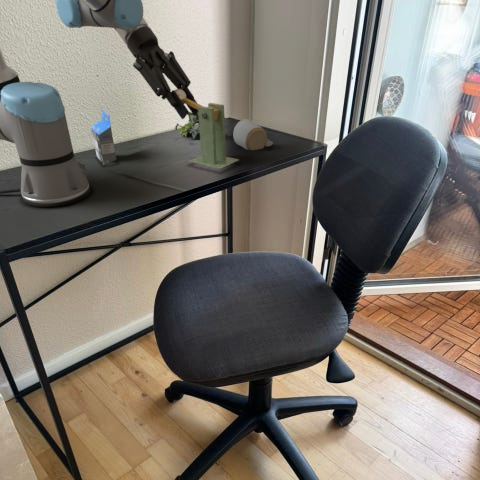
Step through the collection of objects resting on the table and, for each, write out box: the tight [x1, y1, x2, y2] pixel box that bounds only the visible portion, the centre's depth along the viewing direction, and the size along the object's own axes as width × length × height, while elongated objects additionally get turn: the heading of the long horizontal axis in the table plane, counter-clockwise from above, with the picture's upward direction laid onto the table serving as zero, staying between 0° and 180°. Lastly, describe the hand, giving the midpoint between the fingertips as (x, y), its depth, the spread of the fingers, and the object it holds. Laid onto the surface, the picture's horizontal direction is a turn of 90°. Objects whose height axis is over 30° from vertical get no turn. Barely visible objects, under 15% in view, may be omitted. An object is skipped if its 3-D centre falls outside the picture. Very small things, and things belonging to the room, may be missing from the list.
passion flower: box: [174, 111, 200, 141], centre depth 143 cm, size 11×11×12 cm
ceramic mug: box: [232, 118, 274, 151], centre depth 135 cm, size 11×8×8 cm
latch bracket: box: [188, 102, 240, 170], centre depth 122 cm, size 11×8×15 cm
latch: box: [173, 88, 219, 120], centre depth 121 cm, size 14×4×4 cm, turn 54°
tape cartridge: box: [90, 109, 117, 166], centre depth 127 cm, size 9×4×12 cm, turn 27°
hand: (191, 113), depth 123 cm, fingers closed on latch, 4 cm apart
